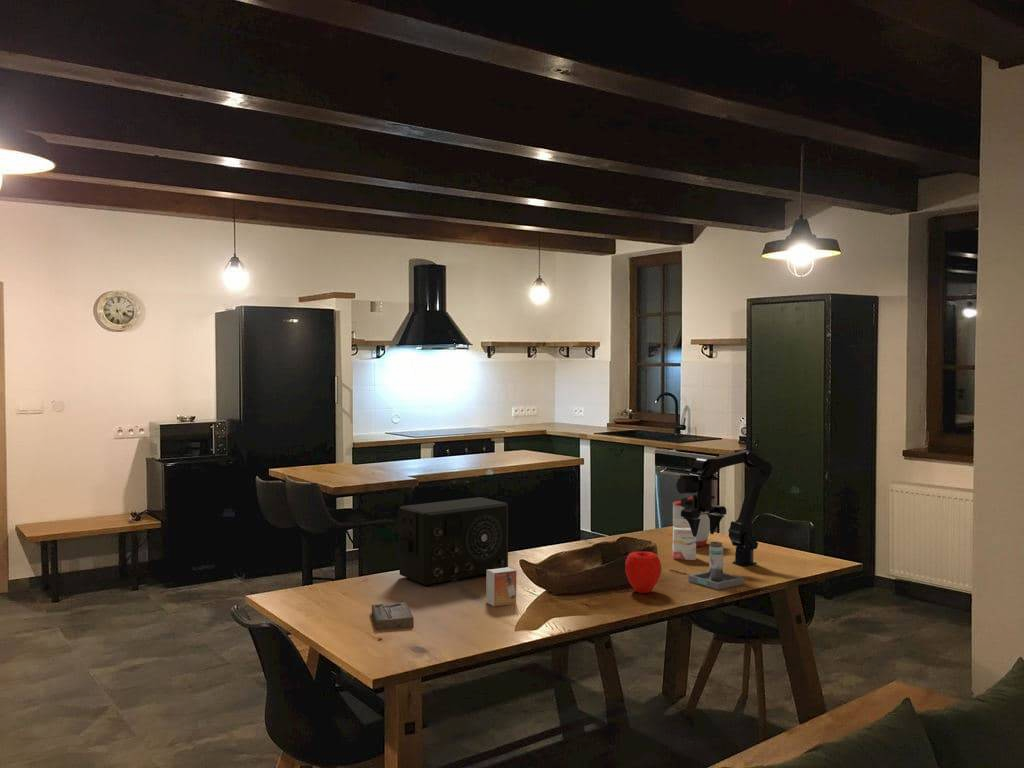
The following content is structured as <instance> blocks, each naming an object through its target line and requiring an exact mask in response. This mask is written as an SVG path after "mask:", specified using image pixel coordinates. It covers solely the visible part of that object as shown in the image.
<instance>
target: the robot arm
mask: <svg viewBox="0 0 1024 768" xmlns="http://www.w3.org/2000/svg"><path fill="white" fill-rule="evenodd" d="M742 463H743V465H744V466H745V468H747V469H748V471H747V476H748V481H749V483H748V485H747V488H746V492H745V495H744V498H743V503H742V505H741V508H740V511H739V512H740V513H739V515H738V518H737V519H736V520H735V521H734V520H731V522H730V526H729V529H728V530H727V532H728V537H729V540H730V542H731V544H732V546H734V547H735V553H734V554H735V557H734V560H733V561H732V564H736V565H740V566H744V567H748V566H752V565H757V561H756V562H755V561H754V550H757V549H758V546H759V542H758V541H757V540H756V539H755V538H754V537H753V536H754V534H753V533H754V528H753V519H754V516H755V512H756V510H757V509H756V508H757V506H758V502H759V499H760V496H761V492H762V489H763V486H764V485H765V484H766V483H767V482H768V481H769V480H770V477H771V476H772V473H773V465H772V464H771V463H770V462H769V461H766V460H764V458H762V457H759V456H758V455H757V454H754V452H753V451H752V450H746V449H742V450H739V451H736V452H732V453H727V454H723V455H719V456H715V457H714V456H713V457H712V456H706V457H705V456H701V457H697V458H696V459H695V461H694V463H693V465H692V467H691V469H690V470H689V471H688V473H687V474H680V475H679V478H678V479H677V482H676V483H675V484H676V485H675V487H676V489H677V492H678V493H679V494H680V495H682V494H693V495H692V496H693V499H690V500H688V498H689V497H683V498H680V501H681V506H682V507H684V508H685V509H682V510H681V517H683V518H684V519H686V520H687V521H688V523H689V525H690V528H691V531H692V534H693V536H694V537H696V535H697V532H698V528H699V523H700V519H699V517H700V515H702V514H707V515H708V517H709V519H710V531H709V535H713V534H714V533H715V531H716V530H717V527H718V526H719V523H720V522H721V521H722V519H723V518H724V517H725V515H727V508H726V506H722V505H719V504H713V499H715V498H716V496H715V495H713V481H718V480H719V479H718V477H717V476H715V474H714V473H717V472H719V471H720V470H721V469H723V468H727V467H731V466H735V465H738V464H742ZM695 493H696V494H695Z"/></svg>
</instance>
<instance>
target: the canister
mask: <svg viewBox="0 0 1024 768" xmlns="http://www.w3.org/2000/svg"><path fill="white" fill-rule="evenodd" d="M708 553H709V555H708V561H709V562H708V566H709V567H708V572H709V580H710V581H714V582H722V581H723V573H724V546H723V542H720V541H710V542H709V547H708Z"/></svg>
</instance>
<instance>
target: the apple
mask: <svg viewBox="0 0 1024 768" xmlns="http://www.w3.org/2000/svg"><path fill="white" fill-rule="evenodd" d="M624 568H625V570H624V572H625V575H626V578H627V580H628V583H629V584H630V586H631V587H632V589H634V591H635V592H637V593H639V594H647V593H650V592H652V591H653V589H654V588H655V586H656V585H657V583H658V581H659V579H660V576H661V575H662V563H661V559H660V558H659V556H658V555H657V554H656V553H654V552H653V551H643V550H641V551H640V550H639V551H632V552H630V553H629V554H628V555H627V557H626V559H625V563H624Z"/></svg>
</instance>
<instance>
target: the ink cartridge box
mask: <svg viewBox="0 0 1024 768" xmlns="http://www.w3.org/2000/svg"><path fill="white" fill-rule="evenodd" d="M681 522H688V521H687V520H686V519H674V527H673V526H672V553H671V555H672V558H673V560H681V561H683V560H685V561H686V560H687V561H696V560H697V546H696V537H694V536H693V534H692V531H691V528H690V525H689V523H688V524H681Z"/></svg>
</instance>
